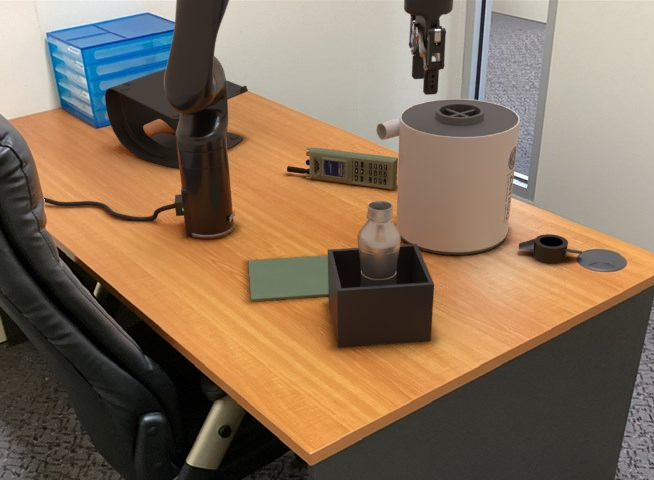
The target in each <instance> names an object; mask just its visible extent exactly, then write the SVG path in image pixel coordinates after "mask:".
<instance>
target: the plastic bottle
mask: <svg viewBox="0 0 654 480" xmlns="http://www.w3.org/2000/svg"><path fill="white" fill-rule="evenodd" d="M366 208H367V211H366V219H367V220H366V222H365V223H364V224H363V225H362V226H361V227H360V229H359V231H358V233H357V237H356V241H357V248H358V249H359V255H360V264H361V286H360V287H369V286H384V285H396V270H397V260H398V255H399V249H400V245H401V244H402V243H401V241H402V238H401V236H400V233H399V231H398V229H397V227H396V224H395V223H394V222H393V221H392V219H394V211H393V210H394V206H393V204H392V203H391V202H389V201H387V200H375V201H371V202H368V204H367V207H366Z"/></svg>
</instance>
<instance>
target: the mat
mask: <svg viewBox="0 0 654 480" xmlns="http://www.w3.org/2000/svg"><path fill="white" fill-rule="evenodd" d="M247 262H248V274H249V275H248V276H249V291H250V302H265V301H266V302H267V301H279V300H280V301H281V300H294V299H309V298H310V299H311V298H323V297H328V254H327V255H326V254H325V255H311V256H299V257H297V256H295V257H281V258H266V259H252V260H251V259H250V260H248V261H247Z"/></svg>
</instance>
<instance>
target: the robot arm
mask: <svg viewBox="0 0 654 480" xmlns="http://www.w3.org/2000/svg"><path fill="white" fill-rule="evenodd" d="M229 3H230V0H176V2H175V13H174V14H175V17H174V27H173V34H172V38H171V39H172V40H171V44H170V50H169V54H168V58H167V62H166V66H165V67H166V68H165V69H166V71H165V76H164V91H165V95H166V97H167V100H168V102H169V103H170V105H171V106H172V107H173V108H174V109H175V110H176V111H178V112H179V113H180V116H179V122H178V126H177V129H176V131H175V135H176V144H177V152H178V161H179V168H178V169H179V176H180V177H179V178H180V194H174V195H175V197H174V202H173V203H170V204H167V205H163V206H159V207H157V208H156V209H155V210H154V212H153V214H152V215H150V216H149V215H148V216H133V215H129V214H123V213H119V212H116V211H114V210H113V209H111V208H110V206H108V205H107V204H105V203H104V202H99V201H94V200H82V201H81V200H80V201H79V200H78V201H60V200H59V201H58V200H55V199H52V198H48V197H44V199H45V202H44V203H46V204H49V205H52V206H57V207H63V208H65V207H68V208H69V207H98V208H100V209H103V210H104V211H106V213H108V215H110V216H112V217H114V218H116V219H121V220H125V221H130V222H152V221H155V220H156V219H157V218H158V216H159V215H160V214H161V213H162V212H165V211H169V210H173V209H174V211H175V217H182V216H183V221H184V228H185V236H186V238H194V239H201V240H213V239H219V238H222V237H226V236H228V235H230V234H231V233H232V232H233V231H234V230H235V220H234V217H235V215H236V214H235V210H234V209H233V197H232V187H231V186H232V185H231V176H230V165H229V164H230V162H229V151H228V150H229V149H228V150H227V137H226V134H227V132H228V127H229V103H228V101H229V99H227V84H226V80H227V77H226V73H225V70H224V69H225V68H224V67H223V64H222V63H221V61H220V60H219V59H218V58H217V57H216V56H215V51H216V50H215V49H216V44H217V43H216V42H217V38H218V33H219V30H220V27H221V24H222V23H223V19H224V16H225V14H226V11H227V8H228V5H229ZM453 9H454V0H403V10H404V12H405V14H409V16H410V19H409V20H410V21H409V40H408V47H409V49H410V55H412V61H411V77H412V79H414V80H423V83H422V84H423V86H422V87H423V88H422V89H423V90H422V92H423V93H424V95H427V96H431V95H436V94H438V92H439V78H440V77H439V76H440V75H439V74H440V71H441V70H444V68H445V65H446V64H445V56H446V36H447V30H446V28H445V27H443V26H442V25H441V21H440V17H442V16H444V15H448V14H450V13H451V12H452V11H453ZM433 58H434V59H435V61H433Z"/></svg>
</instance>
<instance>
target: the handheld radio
mask: <svg viewBox="0 0 654 480" xmlns="http://www.w3.org/2000/svg"><path fill="white" fill-rule="evenodd" d="M305 150H308V151H306V153H305V156H306V157H309V159H306V160H305V165H307V166H309V168H304V167H299V166H298V167H297V166H290V165H287V167H286V172H287V173H294V174H301V175H304V174H305V175H307V176H306V177H305V179H307V180H313V181H314V180H315V181H322V182H329V183H330V182H331V183H337V184H343V185H353V186H360V187H366V188H367V187H368V188H374V189H382V190H390V191H396V189H398V158H399V157H395V156H387V155H381V154H370V153H362V152H355V151H346V150H338V149H337V150H336V149H330V148H321V147H313V146H312V147H311V146H307V147H305Z"/></svg>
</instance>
